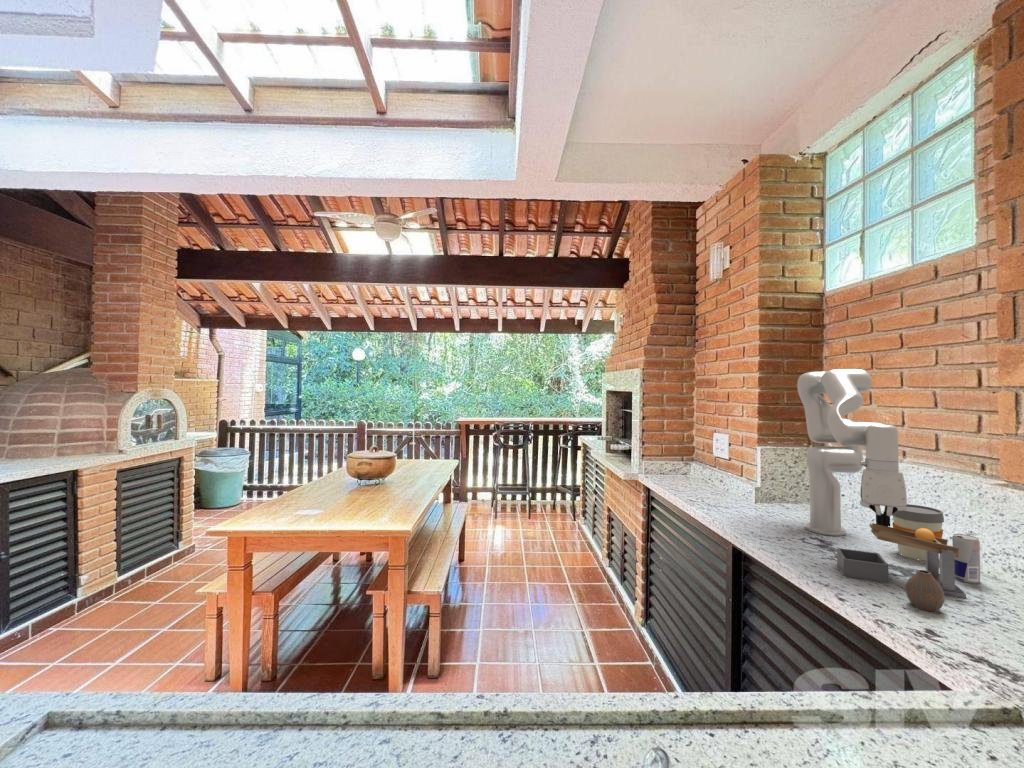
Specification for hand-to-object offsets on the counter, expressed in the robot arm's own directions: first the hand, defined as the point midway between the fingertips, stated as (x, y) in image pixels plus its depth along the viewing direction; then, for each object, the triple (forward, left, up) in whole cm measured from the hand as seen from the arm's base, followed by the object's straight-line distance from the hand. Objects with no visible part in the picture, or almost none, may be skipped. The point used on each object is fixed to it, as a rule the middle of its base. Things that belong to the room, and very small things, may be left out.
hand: (883, 528), depth 133 cm
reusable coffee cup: (-18, +12, -12) cm, 25 cm away
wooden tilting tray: (+4, +5, -2) cm, 6 cm away
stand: (+7, +10, -12) cm, 17 cm away
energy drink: (-1, +18, -12) cm, 22 cm away
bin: (+7, -7, -12) cm, 15 cm away
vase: (+25, +2, -12) cm, 28 cm away
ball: (+7, +7, +1) cm, 10 cm away
